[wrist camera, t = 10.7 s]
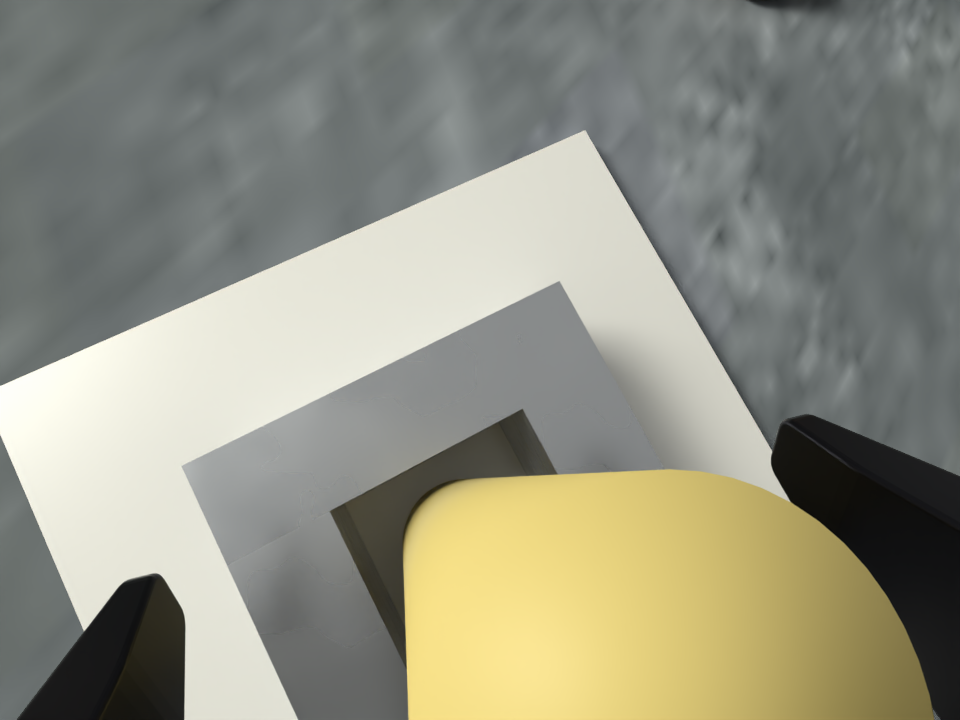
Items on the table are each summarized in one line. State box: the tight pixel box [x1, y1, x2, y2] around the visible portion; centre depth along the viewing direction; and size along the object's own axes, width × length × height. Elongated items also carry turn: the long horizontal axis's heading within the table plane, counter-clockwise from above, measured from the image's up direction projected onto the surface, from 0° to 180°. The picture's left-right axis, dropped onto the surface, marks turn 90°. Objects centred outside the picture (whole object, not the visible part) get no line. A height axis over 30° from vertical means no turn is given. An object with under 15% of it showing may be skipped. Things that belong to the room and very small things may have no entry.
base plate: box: [0, 131, 790, 720], centre depth 17 cm, size 18×18×1 cm
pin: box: [403, 469, 934, 720], centre depth 10 cm, size 3×3×13 cm
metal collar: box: [182, 281, 665, 720], centre depth 15 cm, size 9×9×4 cm
